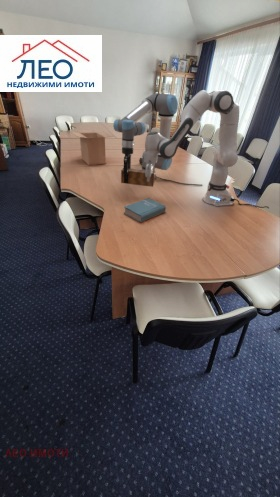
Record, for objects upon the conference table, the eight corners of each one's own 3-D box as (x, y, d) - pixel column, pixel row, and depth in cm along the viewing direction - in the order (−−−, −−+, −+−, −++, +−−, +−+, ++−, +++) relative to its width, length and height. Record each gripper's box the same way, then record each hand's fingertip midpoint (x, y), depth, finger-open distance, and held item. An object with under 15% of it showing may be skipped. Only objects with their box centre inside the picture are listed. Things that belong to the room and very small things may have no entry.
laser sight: (158, 167, 233) (159, 157, 227) (138, 164, 236) (138, 154, 230) (160, 164, 241) (161, 155, 235) (140, 162, 244) (140, 152, 238)
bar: (121, 183, 158) (121, 170, 152) (122, 180, 162) (122, 167, 156) (153, 186, 155) (154, 173, 150) (153, 184, 160) (155, 171, 154)
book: (148, 204, 158) (148, 197, 155) (165, 212, 149) (166, 206, 146) (124, 213, 145) (124, 206, 142) (141, 223, 136) (141, 216, 133)
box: (116, 165, 229) (116, 136, 213) (83, 168, 214) (80, 137, 198) (102, 154, 259) (101, 128, 243) (71, 156, 244) (68, 129, 228)
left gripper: (130, 150, 138) (129, 186, 151) (135, 144, 152) (134, 178, 166) (118, 149, 138) (118, 185, 152) (125, 143, 153) (124, 176, 167)
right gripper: (153, 163, 139) (151, 185, 147) (156, 155, 155) (154, 175, 163) (143, 162, 139) (142, 184, 148) (147, 155, 156) (146, 174, 164)
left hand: (126, 181), depth 159 cm, fingers closed on bar, 5 cm apart
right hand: (148, 179), depth 156 cm, fingers closed on bar, 5 cm apart
